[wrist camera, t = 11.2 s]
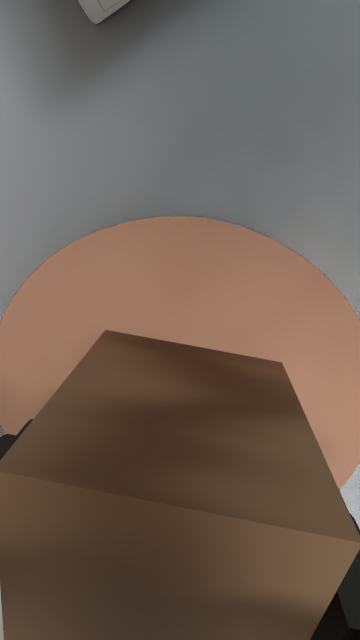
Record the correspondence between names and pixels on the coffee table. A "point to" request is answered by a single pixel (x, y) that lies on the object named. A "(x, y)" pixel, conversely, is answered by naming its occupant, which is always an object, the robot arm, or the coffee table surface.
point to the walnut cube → (170, 503)
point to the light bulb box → (101, 8)
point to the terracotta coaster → (188, 317)
